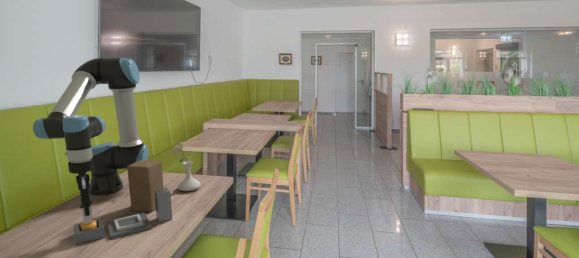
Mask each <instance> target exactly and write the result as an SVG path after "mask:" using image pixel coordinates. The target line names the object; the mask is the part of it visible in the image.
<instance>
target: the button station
mask: <svg viewBox="0 0 579 258" xmlns="http://www.w3.org/2000/svg"><path fill="white" fill-rule="evenodd" d="M102 218H103V217H101V218H95V219H94V220H95V221H96V222H97V228H92V229H88V230H84V231H81V226H80V225H81V223H83V222H84V221H82V222H79V223H74V224H73V232H74V233H73V235H74V239H75V240H74V241H75V246H79V245H82V244H85V243H86V244H87V243H89V242H93V241H97V240H101V239H106V233H105V231H106V230H105V226H104V222H103V219H102Z"/></svg>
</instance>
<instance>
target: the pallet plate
mask: <svg viewBox="0 0 579 258" xmlns="http://www.w3.org/2000/svg"><path fill="white" fill-rule="evenodd" d="M106 227H107V231H108V234H109V237H110V240H114V239H118V238H121V237H125V236H130V235H133V234H137V233H142V232H146V231H149V230H152V229H153V226H152V224H151V222H150V219H148V216H147V215H146V212H142V213H137V214H133V215H128V216H124V217H121V218H120V217H119V218H115V219H111V220H107V221H106Z"/></svg>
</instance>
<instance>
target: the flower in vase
mask: <svg viewBox="0 0 579 258" xmlns="http://www.w3.org/2000/svg"><path fill="white" fill-rule="evenodd" d="M184 146H185V142H183V141H180V142H178V144H177V146H174V150H173V152H172V155H173V156H177V155H179V154H180V153H182V156H183V157H181V158H180V159H179V160H178V163H182V164H183V166H184V168H185V177H184V178H183V180H181V181H180V182H179V183H178V184H177V187H176V188H177V189H178V190H179V191H182V192H183V191H184V192H190V191H194V190H195V191H196V190H199V188H200V187H201V186H202V184H201V182H200V181H199V180H197V179H196V178H194V177H193V176H192V172H191V168H192V165H193V163H194V162H193V161H192V160H191V158H192V156H191V154H190V153H189V154H188V155H187V156H185V154H184V152H183V149H184ZM184 160H185V161H184ZM189 160H191V161H189ZM183 161H184V162H183Z"/></svg>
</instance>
